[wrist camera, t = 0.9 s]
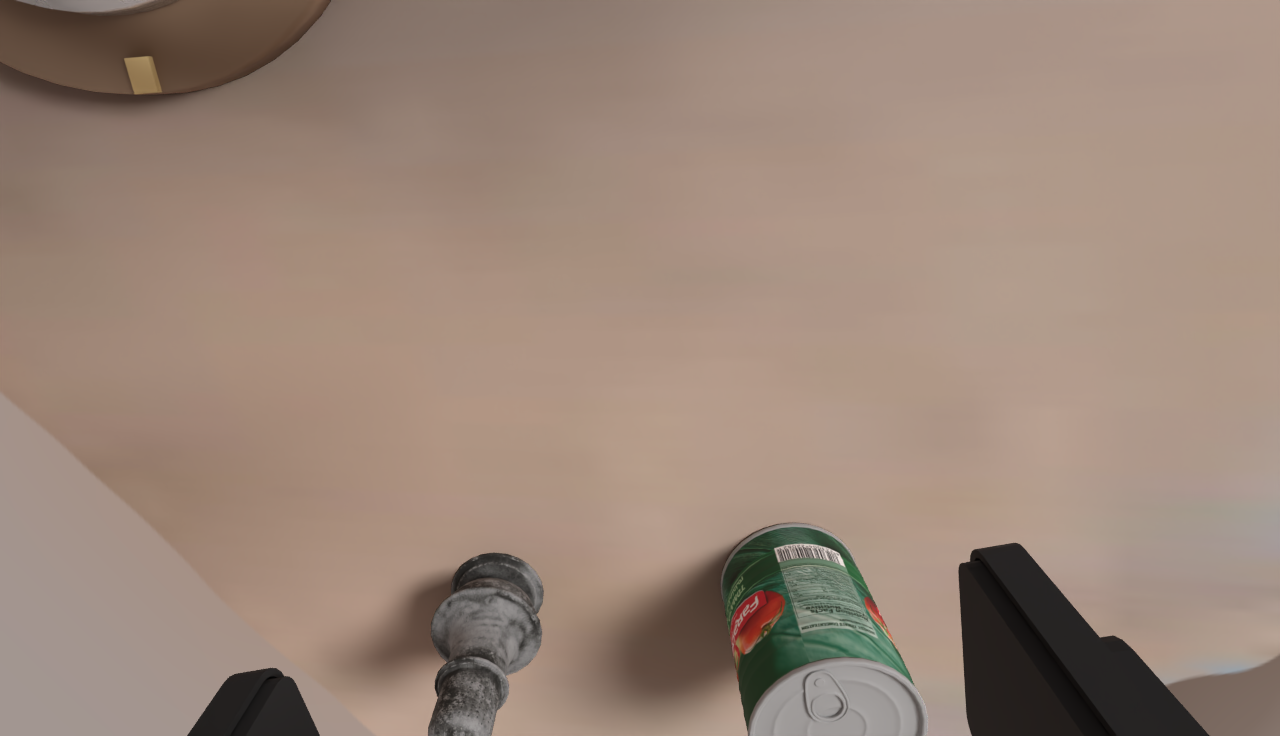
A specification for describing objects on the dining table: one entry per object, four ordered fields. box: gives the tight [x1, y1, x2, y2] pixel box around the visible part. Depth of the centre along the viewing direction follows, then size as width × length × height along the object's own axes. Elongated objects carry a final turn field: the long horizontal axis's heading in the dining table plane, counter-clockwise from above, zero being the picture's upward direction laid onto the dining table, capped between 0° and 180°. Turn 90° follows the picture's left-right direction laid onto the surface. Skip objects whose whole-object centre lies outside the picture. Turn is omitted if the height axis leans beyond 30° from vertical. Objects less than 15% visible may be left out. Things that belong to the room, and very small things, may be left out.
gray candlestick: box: [428, 553, 544, 736], centre depth 37 cm, size 6×6×12 cm
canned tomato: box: [720, 523, 928, 736], centre depth 38 cm, size 8×8×11 cm
